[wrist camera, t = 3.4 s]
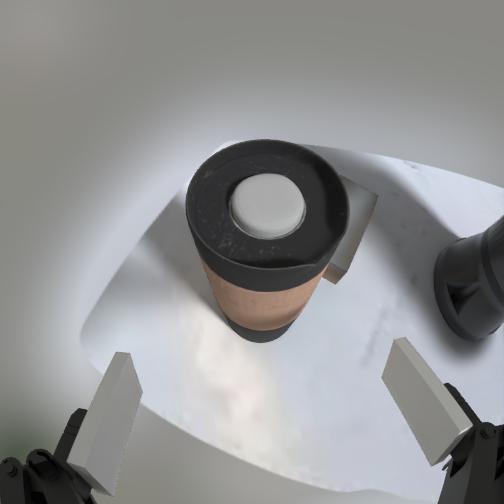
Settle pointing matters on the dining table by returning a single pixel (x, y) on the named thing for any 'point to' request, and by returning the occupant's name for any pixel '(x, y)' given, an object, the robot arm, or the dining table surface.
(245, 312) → the travel mug
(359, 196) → the walnut stand
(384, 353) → the dining table surface
